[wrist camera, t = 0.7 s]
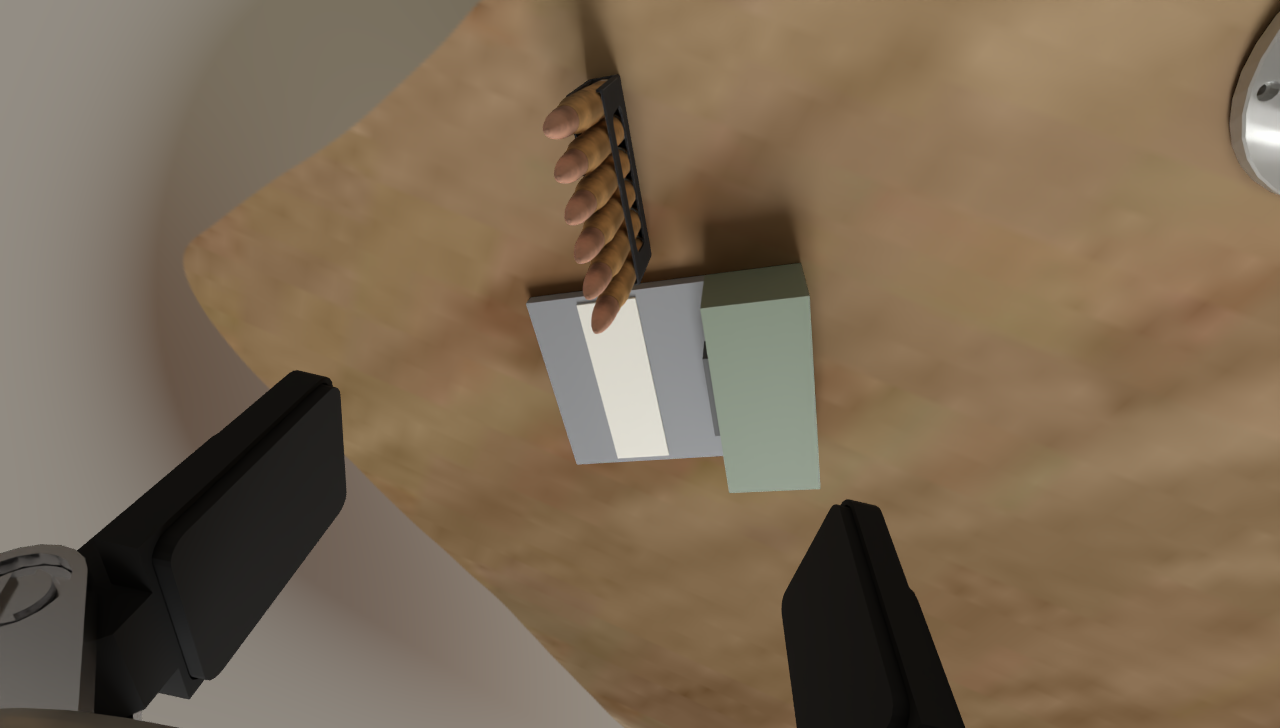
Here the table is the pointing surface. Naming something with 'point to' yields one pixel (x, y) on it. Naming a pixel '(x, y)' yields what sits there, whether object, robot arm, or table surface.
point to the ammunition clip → (602, 193)
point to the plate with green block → (691, 375)
